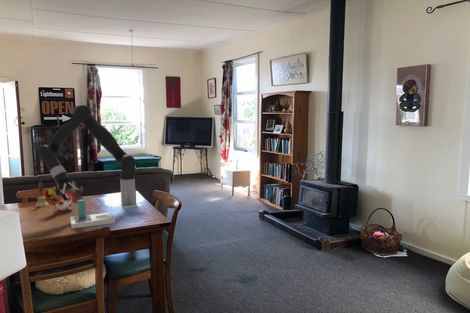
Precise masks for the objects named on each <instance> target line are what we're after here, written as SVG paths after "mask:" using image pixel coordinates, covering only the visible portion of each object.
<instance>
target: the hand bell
mask: <svg viewBox="0 0 470 313" xmlns="http://www.w3.org/2000/svg"><path fill="white" fill-rule="evenodd" d="M37 186H38V191H39V197H37V201H36V204H35V206H34V207H36V208H44V207H48V206H49V205H50V204H49V203H48V202H47V200H46V198H45V196H44V193H43V188H44V185H43V183H42V181H39V182H38V185H37Z"/></svg>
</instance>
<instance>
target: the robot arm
mask: <svg viewBox="0 0 470 313" xmlns="http://www.w3.org/2000/svg"><path fill="white" fill-rule="evenodd" d="M81 124H82V125H84V127H86V128H87V130H88V131H89V132H90V133H91V135H92V136H93V137H94V138H95V140H96V141H97V142H98V143H99V144H100V145H101V146H102V147H103V148H104V149H105V150H106V151H107V152H108V153H109V154H110V155H111V156H113V158H114V160H116V162H117V164H118V165H119V166H120V167H121V172H120V173H121V174H120V178H119V179H120V203H121V205H122V206H132V205H136V204H137V190H136V182H135V181H136V179H135V178H136V177H135V176H136V166H137V165H136V159H135V158H134V157H133V155H130V154H127V152H125V151H124V150H123V148H121V146H120V144H119V143H118V141H117V140H116V138H115V137H114V135H113V134H112V132H110V131H109V130H108V129H107V128H106V127H105V126H104V125H102V124H101V123H99V122H98V121H97V120H96V119H95V118H94V117H93V115H92V109H91V108H90V107H89V106H88V105H86V104H78V105H75V107H73V110H72V116H71V117H70V118H69V119H68V120H67V121H66V122H65V123H64V124H63V125H62V126H61V127H60V128H59V129H58V130H56V132H55V133H54V134H53V135H52V136H51V137H50V138H49V144H48V145H47V144H43V145H41V146H39V147H38V151H37V152H38V155H39V157H40V158H41V160H42V161H43V163H45V165H46V167H47V169H48V170H49V172H50V175H51V176H52V178H53V180H54V181H55V183H56V184H55V185H54V186H53V187H52V190H53V189H54V192H55V193H56V195H57V196H59V195H60V196H62V198H63V200H65V201H67V200H68V198H67V197H66V195H65V194H66V193H65V194H64V192H66V191H74V192H75V194H76V196H77V198H81V196H82V193H81V192H80V189H81V187H82V186H81V185H80V184H79V182H78V180H77V179H74V180H73V181H72V180H71V178H70V176H69V174H68V173H67V170H66V169H65V168H64V166H63V164H61V162H60V160H59V159H58V158H57V157H56V155H57V154H58V153H59V152H58V151H59V150H60V148H61V146H63V144H64V143H65V142H66V140H67V139H68V138H70V136H71V135H72V133H73V132H74V131H75V130H76V129H77V128H78V127H79V126H80V125H81Z"/></svg>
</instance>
